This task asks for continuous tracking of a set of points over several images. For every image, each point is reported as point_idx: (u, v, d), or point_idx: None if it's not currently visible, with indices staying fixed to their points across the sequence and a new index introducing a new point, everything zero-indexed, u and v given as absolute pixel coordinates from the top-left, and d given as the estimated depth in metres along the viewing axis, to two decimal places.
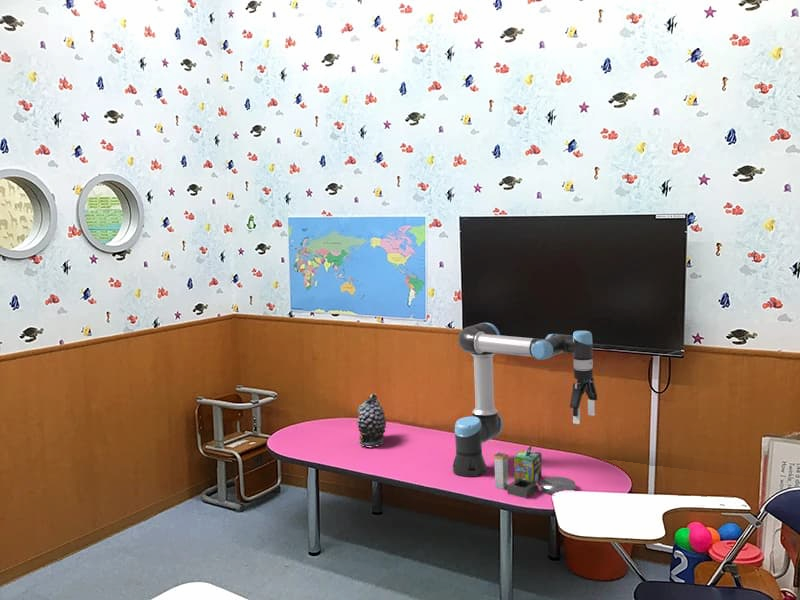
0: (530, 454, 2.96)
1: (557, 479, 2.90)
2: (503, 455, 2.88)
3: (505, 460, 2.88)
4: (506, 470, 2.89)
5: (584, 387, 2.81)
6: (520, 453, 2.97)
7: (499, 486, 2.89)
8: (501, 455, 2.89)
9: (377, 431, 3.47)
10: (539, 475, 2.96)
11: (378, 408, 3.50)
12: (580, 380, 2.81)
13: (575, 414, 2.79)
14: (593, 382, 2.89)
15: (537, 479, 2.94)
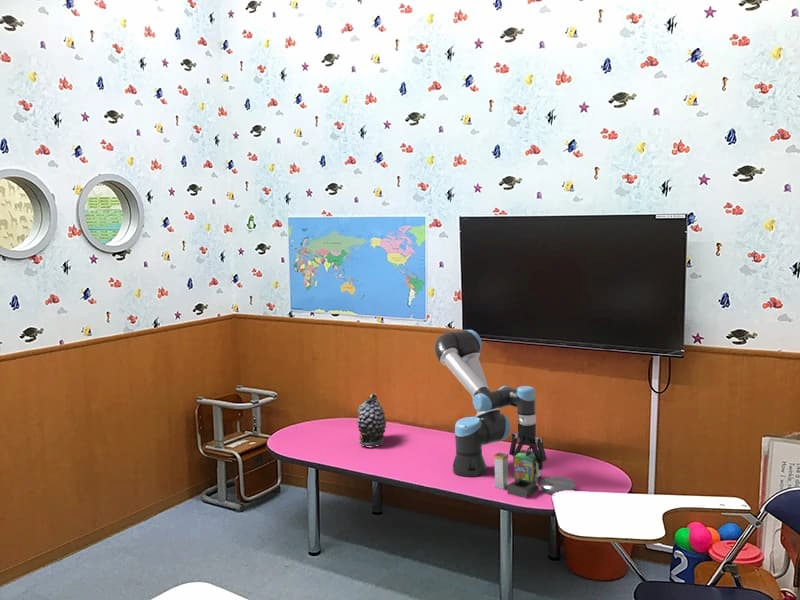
0: (530, 454, 2.96)
1: (557, 479, 2.90)
2: (503, 455, 2.88)
3: (505, 460, 2.88)
4: (506, 470, 2.89)
5: (520, 439, 2.96)
6: (520, 453, 2.97)
7: (499, 486, 2.89)
8: (501, 455, 2.89)
9: (377, 431, 3.47)
10: None
11: (378, 408, 3.50)
12: None
13: None
14: (539, 444, 2.90)
15: (537, 479, 2.94)
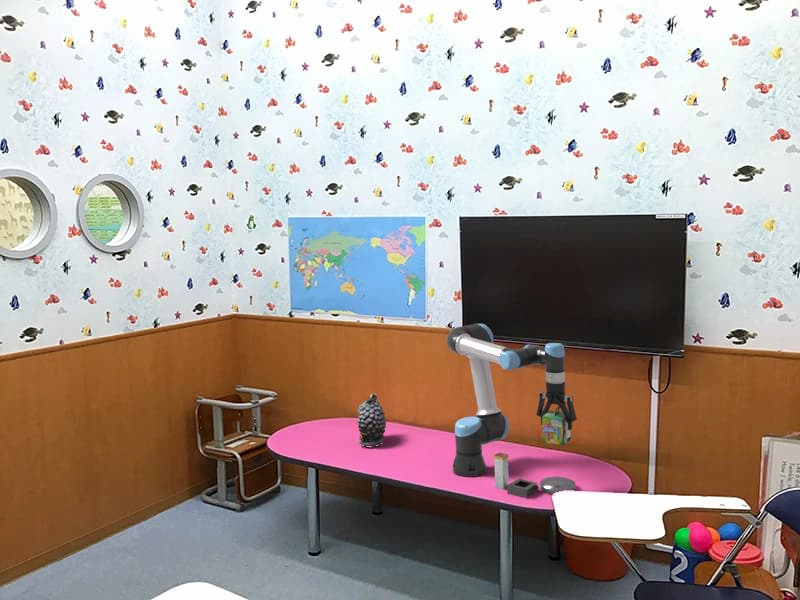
0: (559, 414, 2.82)
1: (557, 479, 2.90)
2: (503, 455, 2.88)
3: (505, 460, 2.88)
4: (506, 470, 2.89)
5: (548, 399, 2.82)
6: (548, 413, 2.83)
7: (499, 486, 2.89)
8: (501, 455, 2.89)
9: (377, 431, 3.47)
10: None
11: (378, 408, 3.50)
12: None
13: None
14: (569, 403, 2.77)
15: (566, 440, 2.81)
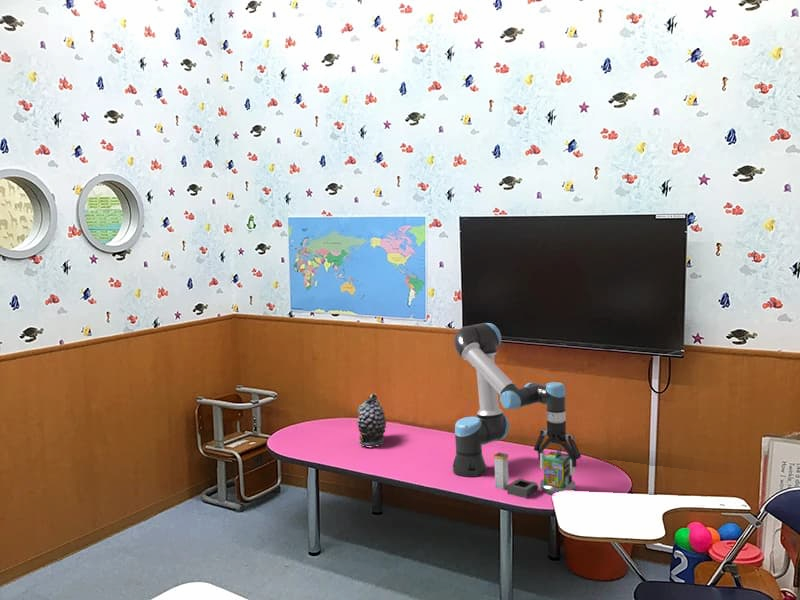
0: (560, 456, 2.84)
1: None
2: (503, 455, 2.88)
3: (505, 460, 2.88)
4: (506, 470, 2.89)
5: (549, 437, 2.84)
6: (549, 455, 2.86)
7: (499, 486, 2.89)
8: (501, 455, 2.89)
9: (377, 431, 3.47)
10: (569, 478, 2.84)
11: (378, 408, 3.50)
12: None
13: None
14: (570, 441, 2.78)
15: (567, 482, 2.83)
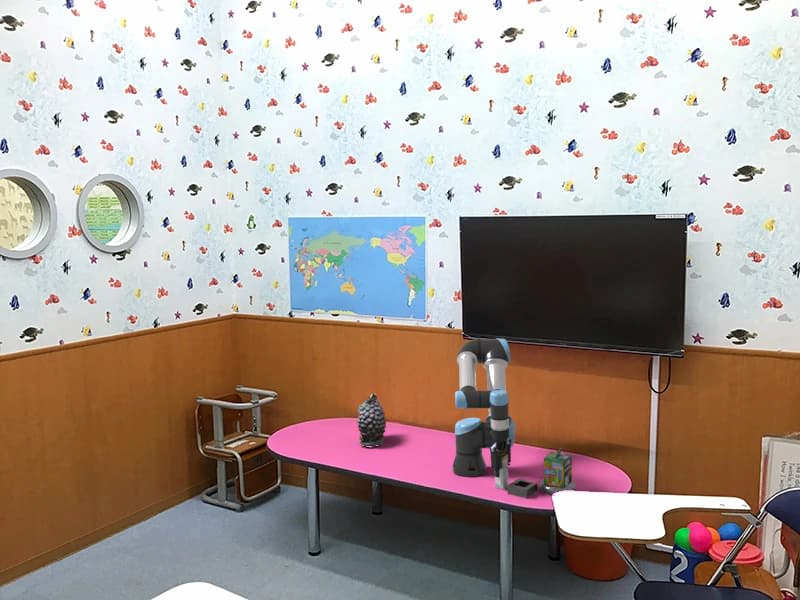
0: (560, 456, 2.84)
1: None
2: (503, 455, 2.88)
3: (505, 460, 2.88)
4: (506, 470, 2.89)
5: (501, 447, 2.86)
6: (549, 455, 2.86)
7: (499, 486, 2.89)
8: (501, 455, 2.89)
9: (377, 431, 3.47)
10: (569, 478, 2.84)
11: (378, 408, 3.50)
12: (496, 440, 2.85)
13: (497, 475, 2.87)
14: (510, 444, 2.93)
15: (567, 482, 2.83)
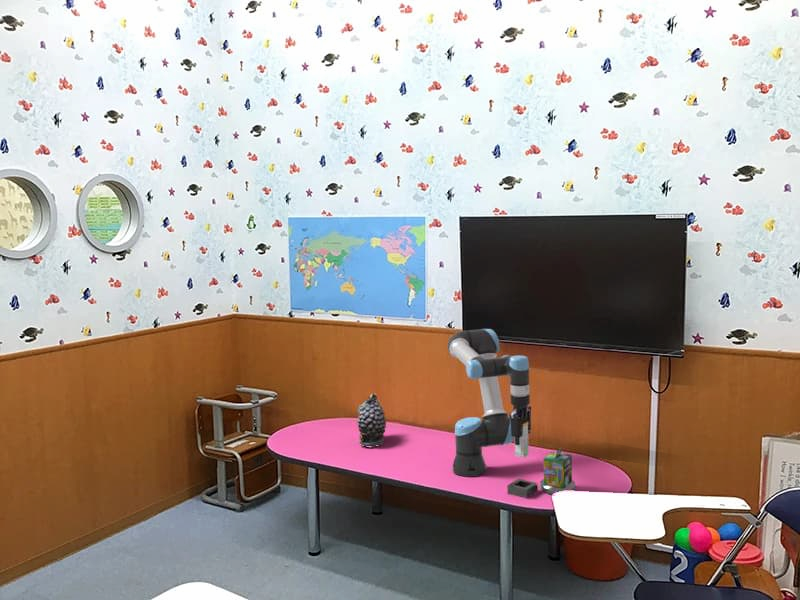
0: (560, 456, 2.84)
1: None
2: (523, 422, 2.80)
3: (525, 427, 2.80)
4: (526, 437, 2.81)
5: (521, 414, 2.78)
6: (549, 455, 2.86)
7: (519, 454, 2.81)
8: (521, 422, 2.80)
9: (377, 431, 3.47)
10: (569, 478, 2.84)
11: (378, 408, 3.50)
12: (516, 406, 2.77)
13: (517, 443, 2.79)
14: (530, 412, 2.84)
15: (567, 482, 2.83)
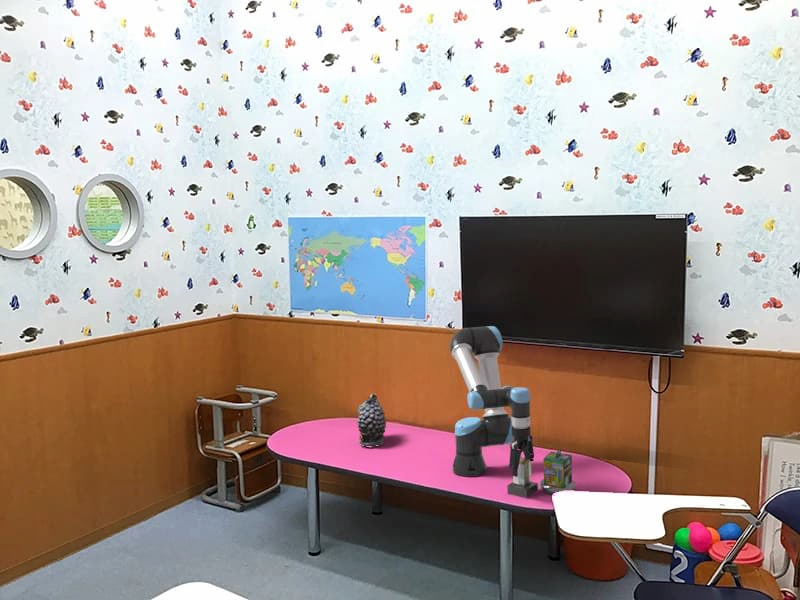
0: (560, 456, 2.84)
1: None
2: (524, 460, 2.82)
3: (526, 465, 2.82)
4: (527, 474, 2.83)
5: (522, 445, 2.79)
6: (549, 455, 2.86)
7: None
8: (522, 460, 2.82)
9: (377, 431, 3.47)
10: (569, 478, 2.84)
11: (378, 408, 3.50)
12: (517, 438, 2.79)
13: (515, 474, 2.79)
14: (531, 441, 2.86)
15: (567, 482, 2.83)
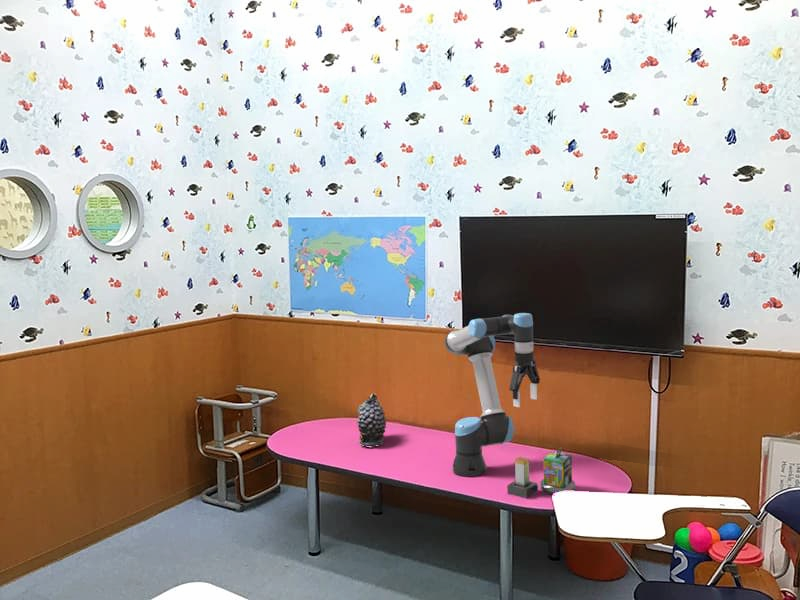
0: (560, 456, 2.84)
1: None
2: (524, 460, 2.82)
3: (526, 465, 2.82)
4: (527, 474, 2.83)
5: (524, 370, 2.79)
6: (549, 455, 2.86)
7: None
8: (522, 460, 2.82)
9: (377, 431, 3.47)
10: (569, 478, 2.84)
11: (378, 408, 3.50)
12: (520, 363, 2.78)
13: (515, 397, 2.76)
14: (535, 365, 2.86)
15: (567, 482, 2.83)
